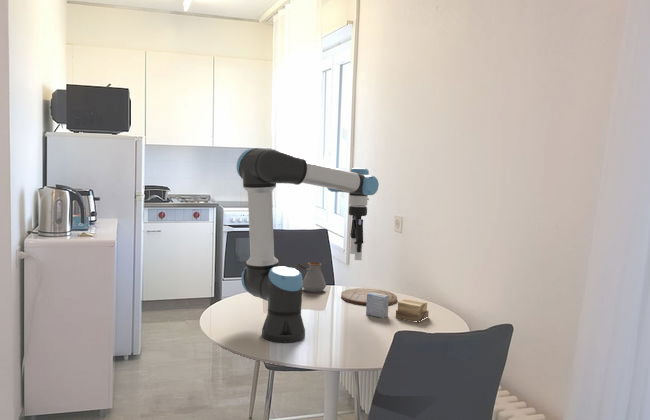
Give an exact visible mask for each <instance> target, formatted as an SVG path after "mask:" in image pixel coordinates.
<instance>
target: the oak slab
mask: <svg viewBox="0 0 650 420" xmlns="http://www.w3.org/2000/svg"><path fill="white" fill-rule="evenodd" d="M397 310H398V311H402V312H407V313H411V314H416V315H419V314H421V313H423V312H425V311H427V310H428V302H427V301H422V300H417V299H412V298H410V297H409V298H408V297H407V298H404V299H402V300H399V301H397Z"/></svg>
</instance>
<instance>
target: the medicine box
mask: <svg viewBox="0 0 650 420" xmlns="http://www.w3.org/2000/svg"><path fill="white" fill-rule="evenodd" d="M388 303H389V296H388V295H384V294H379V293H374V292H371V293H369V294H367V306H365V307H366V310H365V315H366V316H372V317H376V318H382V319H384V318H387V317H389V305H388Z"/></svg>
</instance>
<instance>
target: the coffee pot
mask: <svg viewBox="0 0 650 420" xmlns="http://www.w3.org/2000/svg"><path fill="white" fill-rule="evenodd" d="M295 265H296V266H297V268H298V267H299V268H301V269H303V270H305V271H306V274H305V276H304V278H303V279H302V282H303V287H302V289H304V290H305V292H308V293H315V294H316V293H320V292H321V293H322V291H323V290H325V288H326V287H327V283H326V281H325V280H326V279H325V278H324V274H323V272H322V269H321V266H322V265H323V264H322V263H321V262H317V261H312V262H311V261H310V262H309V261H308V262H307V265H308V267H306V266H305V265H302V264H300V263H295Z"/></svg>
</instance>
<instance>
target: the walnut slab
mask: <svg viewBox="0 0 650 420" xmlns="http://www.w3.org/2000/svg"><path fill="white" fill-rule="evenodd" d="M426 317H428V318H429V310H428V309H427V311H425V312H423V313H421V314H419V315H416V314H411V313H407V312H402V311H398V309H396V310H395V319H399V318H400V320H403V319H405V321H408V320H410V321H409V322H412V321H417V322H419V321H421V320H422V319H424V318H426ZM421 322H422V321H421ZM419 323H420V322H419Z"/></svg>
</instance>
